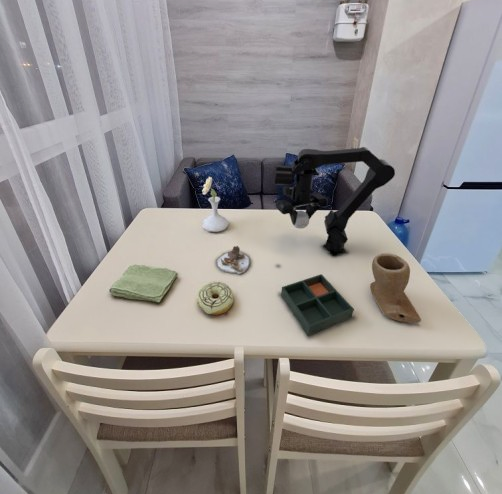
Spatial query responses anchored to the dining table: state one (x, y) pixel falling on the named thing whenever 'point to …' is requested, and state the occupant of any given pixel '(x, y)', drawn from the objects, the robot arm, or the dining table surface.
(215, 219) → the flower in vase
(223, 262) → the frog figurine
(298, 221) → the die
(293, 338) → the dining table surface
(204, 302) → the decorated donut
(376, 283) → the clay platform pipe
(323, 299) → the grid
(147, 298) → the washcloth
